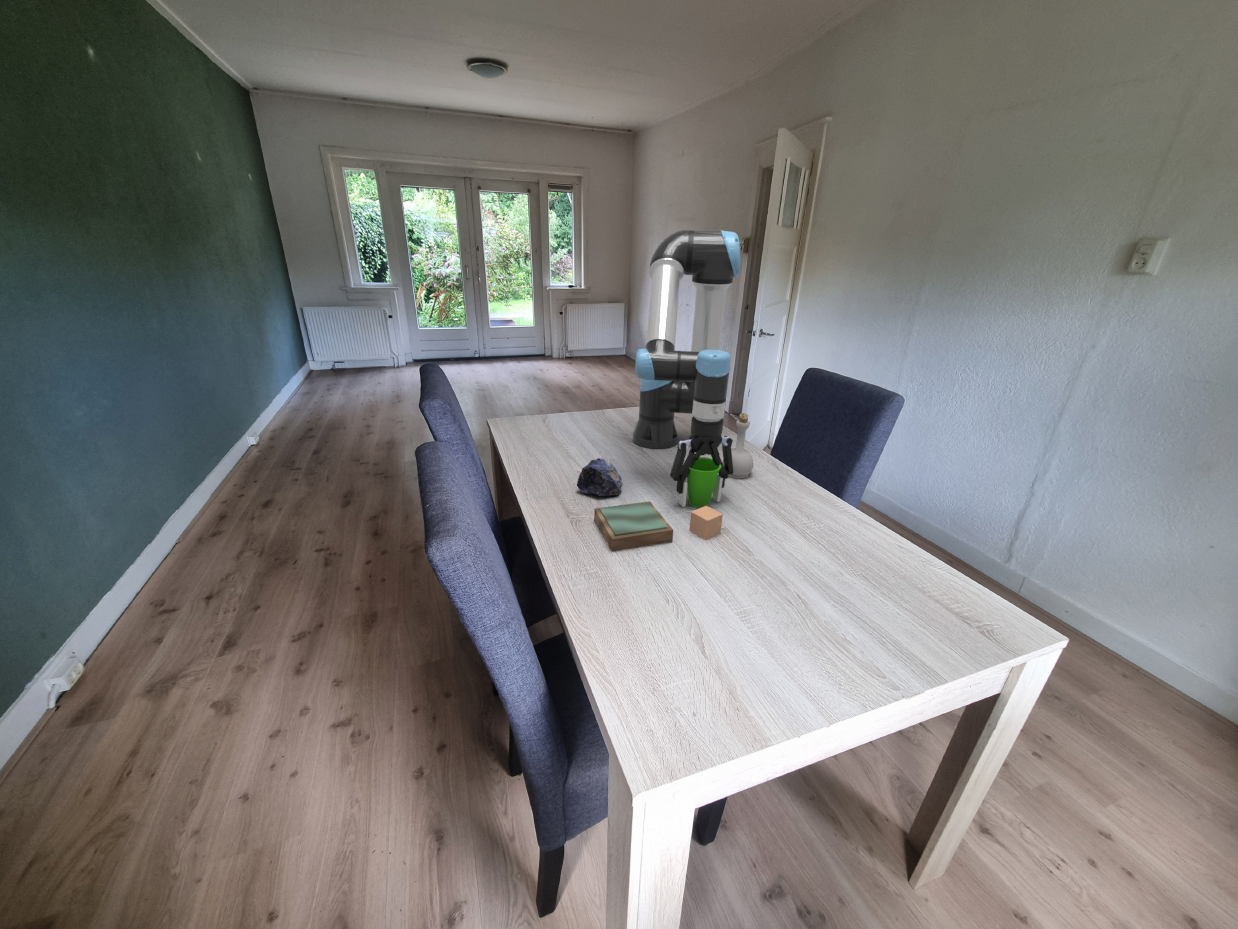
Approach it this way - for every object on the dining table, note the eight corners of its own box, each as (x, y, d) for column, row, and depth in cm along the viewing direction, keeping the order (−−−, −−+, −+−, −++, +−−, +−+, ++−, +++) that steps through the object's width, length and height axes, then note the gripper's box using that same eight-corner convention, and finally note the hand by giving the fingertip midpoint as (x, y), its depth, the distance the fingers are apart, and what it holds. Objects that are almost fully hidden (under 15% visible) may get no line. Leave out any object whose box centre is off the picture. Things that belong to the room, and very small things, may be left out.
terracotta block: (689, 530, 114) (691, 511, 112) (704, 524, 116) (706, 505, 114) (705, 540, 110) (707, 520, 108) (720, 533, 113) (722, 514, 111)
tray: (594, 519, 117) (594, 507, 115) (649, 512, 121) (650, 499, 120) (611, 551, 105) (612, 537, 103) (672, 541, 109) (673, 528, 107)
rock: (569, 486, 127) (586, 451, 126) (587, 489, 136) (603, 457, 136) (602, 505, 123) (620, 469, 122) (619, 507, 132) (635, 474, 131)
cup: (716, 513, 121) (721, 473, 117) (679, 509, 123) (683, 469, 118) (717, 497, 129) (721, 458, 125) (682, 493, 131) (686, 455, 126)
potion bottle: (749, 468, 147) (757, 410, 140) (753, 481, 139) (762, 420, 132) (719, 466, 148) (726, 409, 141) (722, 479, 140) (729, 418, 133)
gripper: (672, 425, 110) (665, 514, 119) (756, 418, 117) (744, 503, 126) (659, 415, 117) (654, 500, 126) (739, 409, 123) (729, 490, 132)
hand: (699, 501), depth 126 cm, fingers closed on cup, 9 cm apart
